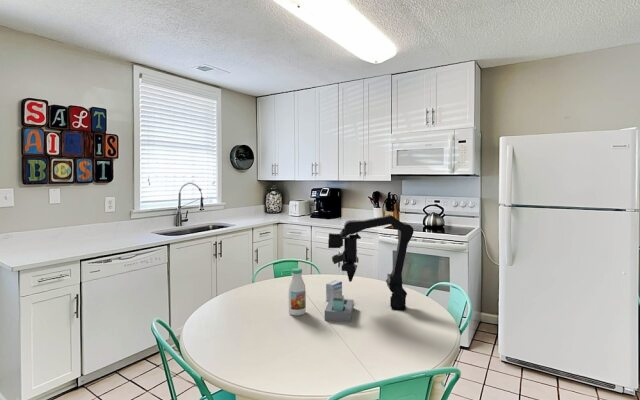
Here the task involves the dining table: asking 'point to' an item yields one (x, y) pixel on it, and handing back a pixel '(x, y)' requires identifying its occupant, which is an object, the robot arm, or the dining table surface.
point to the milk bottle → (296, 294)
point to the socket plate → (339, 315)
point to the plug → (338, 303)
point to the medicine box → (333, 289)
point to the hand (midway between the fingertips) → (350, 281)
